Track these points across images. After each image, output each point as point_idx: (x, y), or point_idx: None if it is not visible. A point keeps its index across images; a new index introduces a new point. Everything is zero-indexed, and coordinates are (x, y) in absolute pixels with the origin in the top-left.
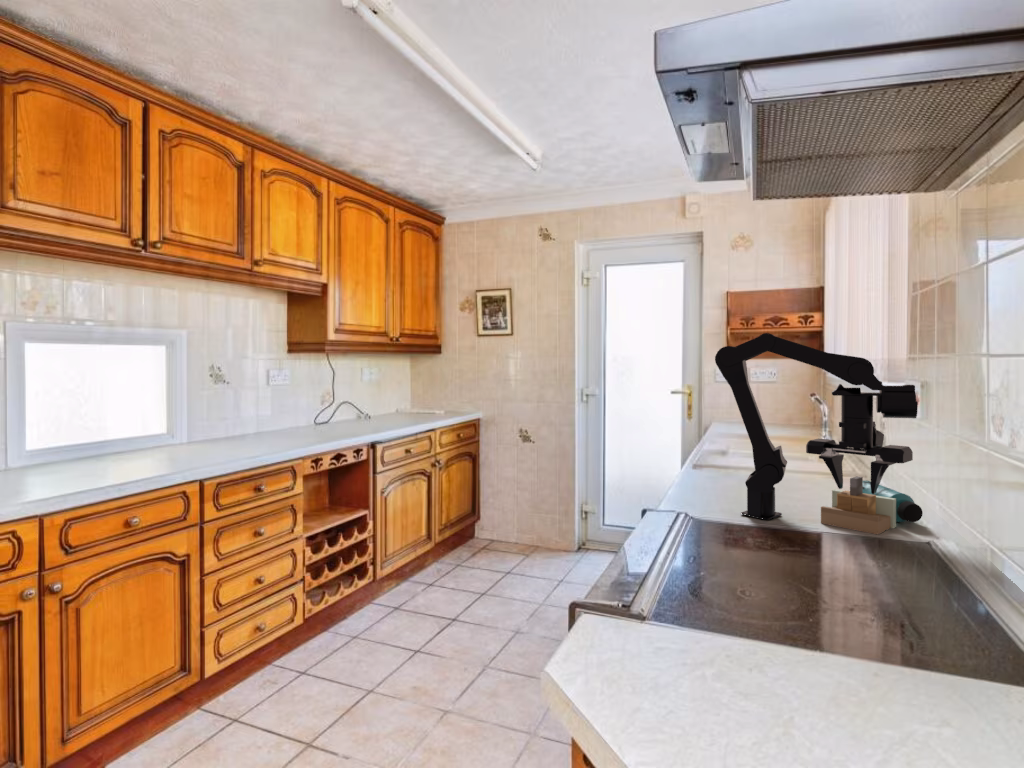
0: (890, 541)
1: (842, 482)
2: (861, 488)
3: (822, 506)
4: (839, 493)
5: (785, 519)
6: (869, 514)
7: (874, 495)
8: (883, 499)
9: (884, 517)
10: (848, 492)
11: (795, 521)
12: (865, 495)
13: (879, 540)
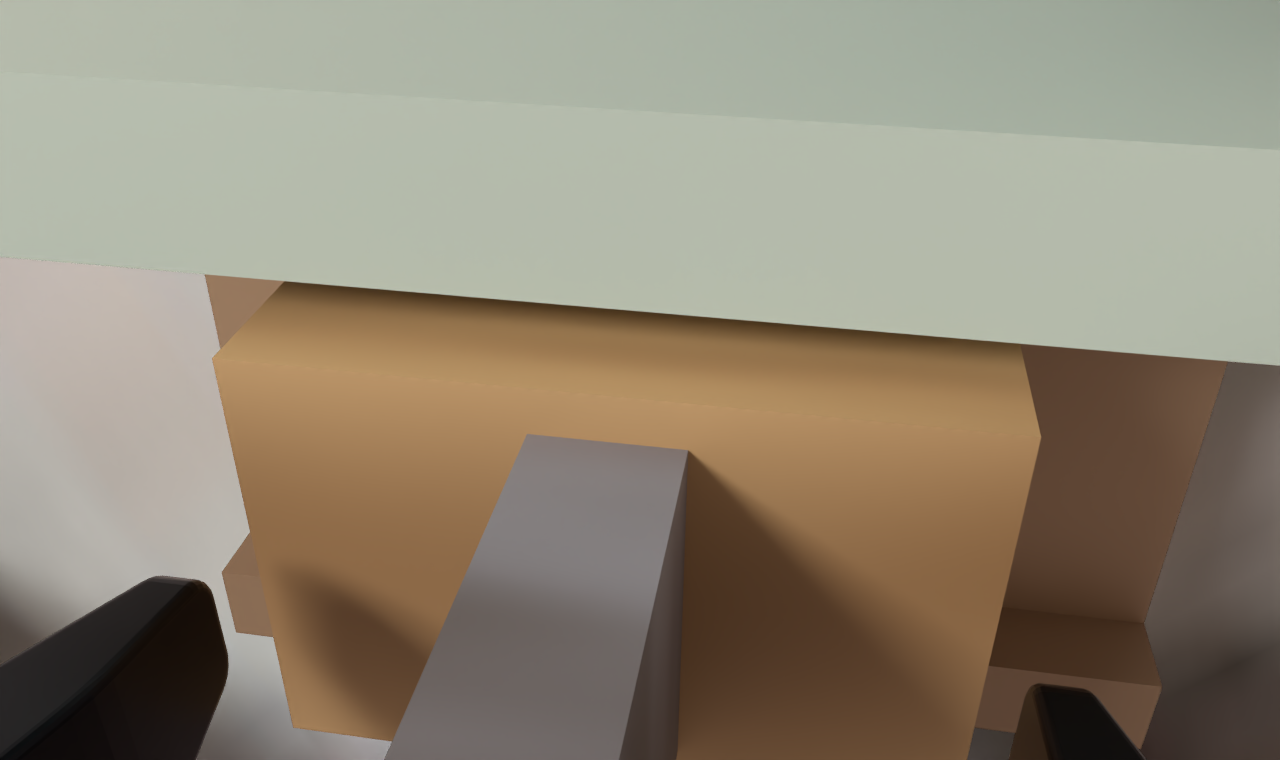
0: (1273, 726)
1: (120, 699)
2: (661, 615)
3: (229, 592)
4: (329, 717)
5: (4, 548)
6: (987, 679)
7: (1014, 491)
8: (1227, 346)
9: (1183, 364)
10: (389, 524)
11: (122, 562)
12: (824, 616)
13: (1148, 750)
